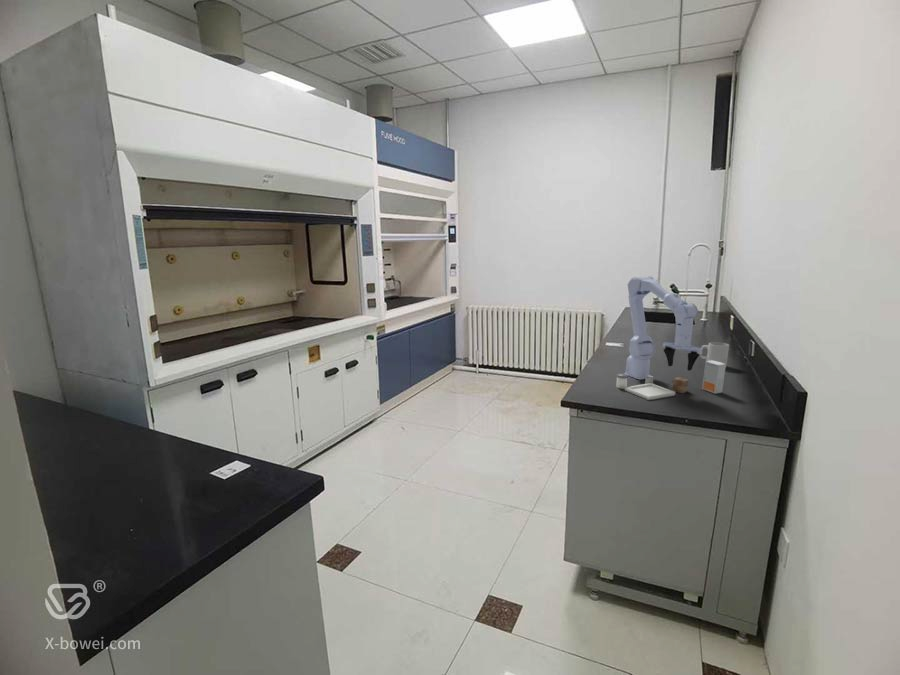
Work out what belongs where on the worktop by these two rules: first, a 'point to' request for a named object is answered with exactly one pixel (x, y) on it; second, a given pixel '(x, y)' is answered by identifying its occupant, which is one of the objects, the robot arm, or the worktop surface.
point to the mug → (716, 352)
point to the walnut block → (680, 385)
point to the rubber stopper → (648, 380)
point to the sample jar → (621, 381)
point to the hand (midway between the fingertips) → (679, 367)
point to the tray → (649, 391)
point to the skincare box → (713, 376)
